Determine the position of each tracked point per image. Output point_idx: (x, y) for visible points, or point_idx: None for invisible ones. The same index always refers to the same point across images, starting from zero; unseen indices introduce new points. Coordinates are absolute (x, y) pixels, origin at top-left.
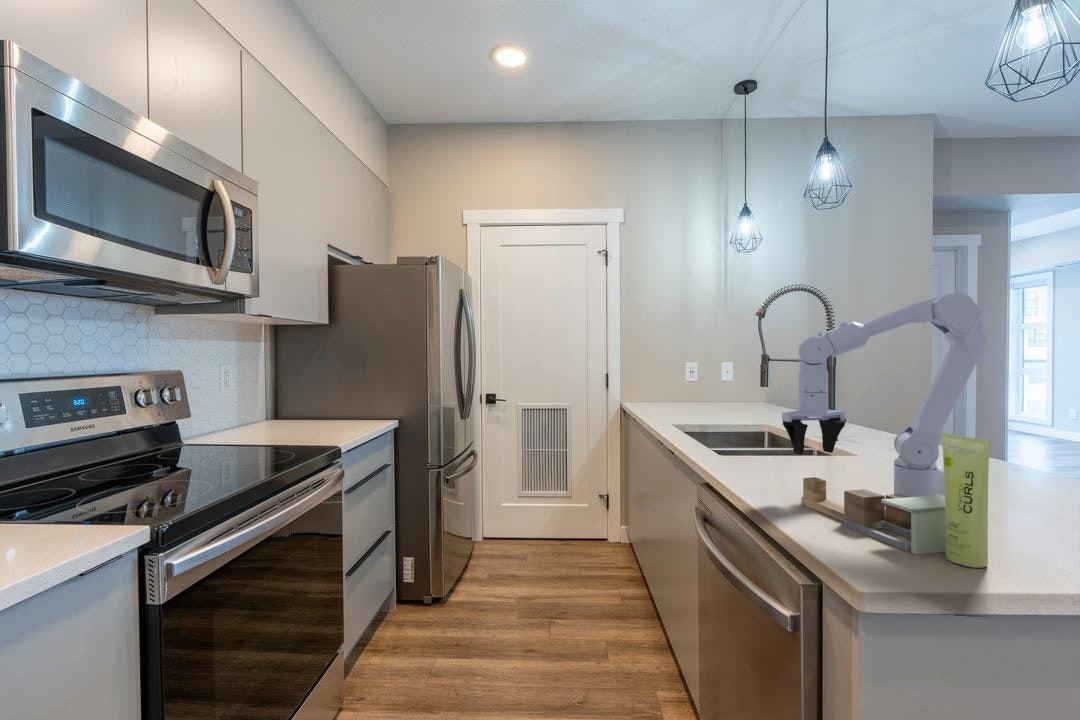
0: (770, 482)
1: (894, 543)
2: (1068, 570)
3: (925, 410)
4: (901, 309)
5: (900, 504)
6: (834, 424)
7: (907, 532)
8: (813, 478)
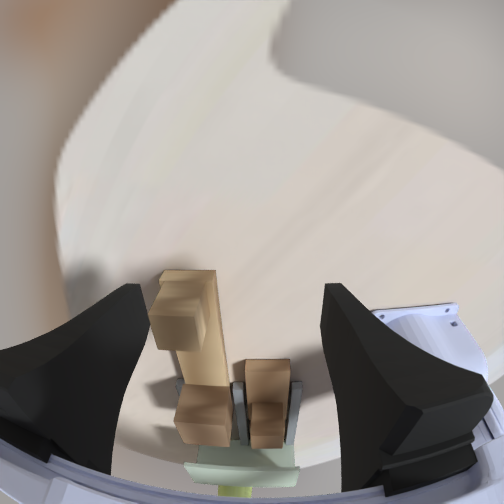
0: (220, 24)
1: None
2: (313, 464)
3: None
4: None
5: (194, 475)
6: (348, 484)
7: (238, 425)
8: (177, 326)
